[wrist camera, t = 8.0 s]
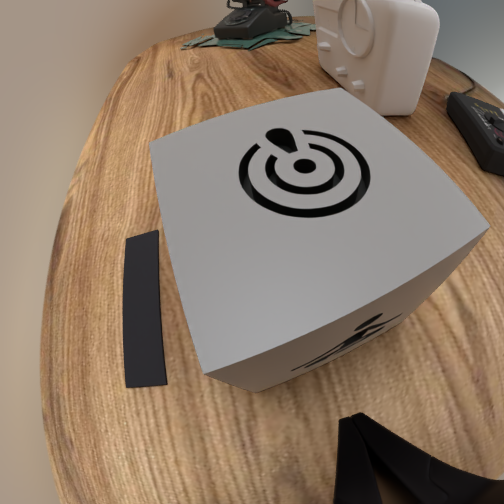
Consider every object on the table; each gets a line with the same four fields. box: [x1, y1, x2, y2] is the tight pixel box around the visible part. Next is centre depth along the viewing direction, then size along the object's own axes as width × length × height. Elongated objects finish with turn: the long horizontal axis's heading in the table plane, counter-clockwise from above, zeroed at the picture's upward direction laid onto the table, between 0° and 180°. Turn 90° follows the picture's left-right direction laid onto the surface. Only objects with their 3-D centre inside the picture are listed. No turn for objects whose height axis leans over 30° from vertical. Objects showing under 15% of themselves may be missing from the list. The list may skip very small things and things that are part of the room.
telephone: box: [180, 0, 316, 51], centre depth 46 cm, size 35×32×20 cm
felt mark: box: [123, 230, 167, 388], centre depth 18 cm, size 12×3×1 cm, turn 12°
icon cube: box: [149, 88, 490, 393], centre depth 13 cm, size 10×10×10 cm
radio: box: [313, 0, 440, 116], centre depth 21 cm, size 22×8×25 cm, turn 9°
